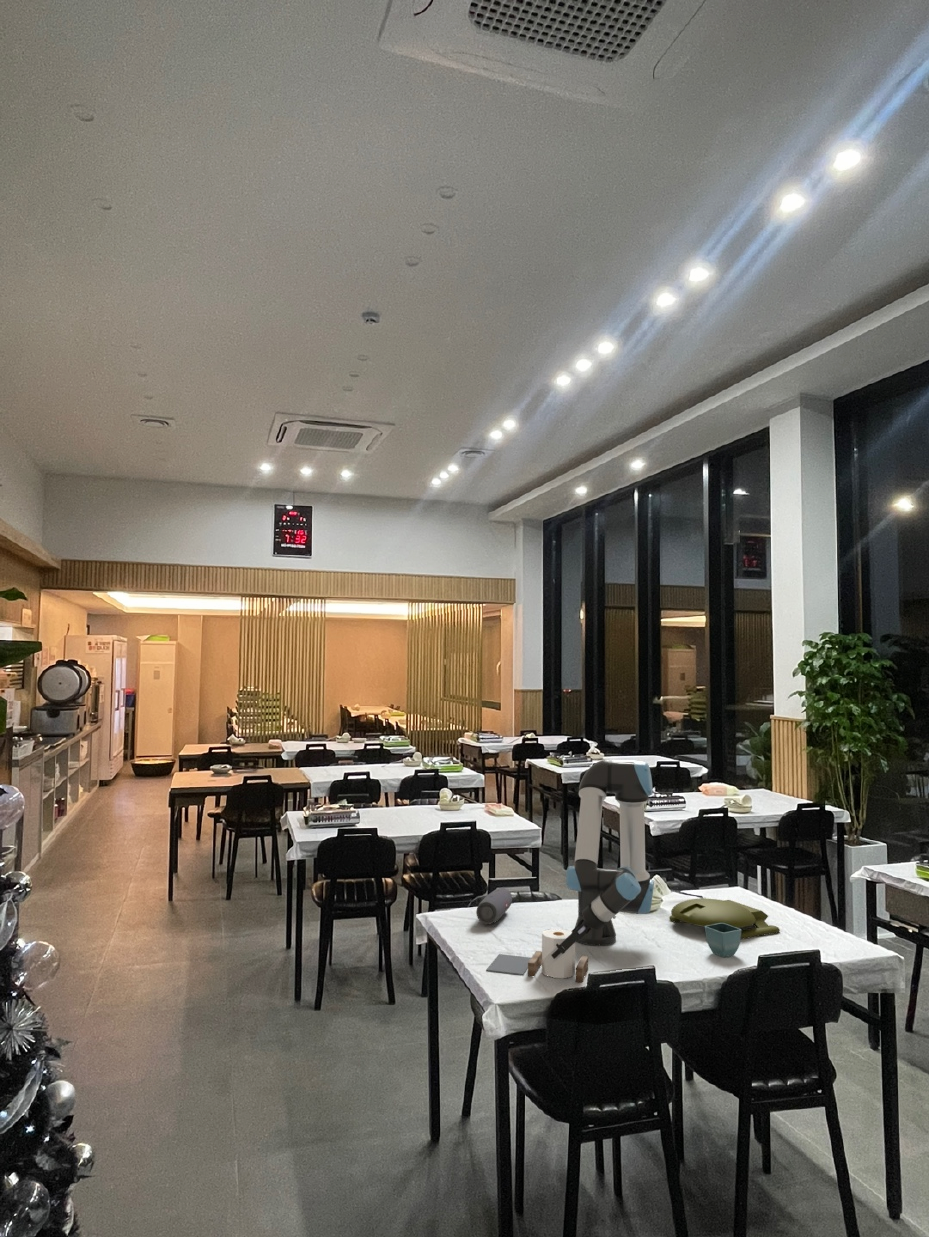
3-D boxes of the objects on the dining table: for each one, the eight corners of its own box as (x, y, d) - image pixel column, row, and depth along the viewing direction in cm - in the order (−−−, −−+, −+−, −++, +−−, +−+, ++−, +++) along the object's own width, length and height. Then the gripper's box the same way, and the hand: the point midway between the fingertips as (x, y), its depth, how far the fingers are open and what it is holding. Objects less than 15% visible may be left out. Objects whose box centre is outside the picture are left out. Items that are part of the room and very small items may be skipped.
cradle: (536, 963, 265) (536, 950, 265) (588, 969, 260) (588, 956, 260) (527, 975, 253) (527, 962, 254) (582, 982, 248) (582, 968, 249)
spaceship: (723, 912, 329) (723, 887, 330) (783, 933, 302) (782, 906, 302) (654, 922, 314) (654, 896, 315) (710, 945, 287) (710, 917, 287)
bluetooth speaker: (498, 928, 302) (498, 901, 303) (474, 926, 305) (475, 899, 306) (513, 912, 324) (514, 887, 325) (491, 910, 327) (491, 885, 328)
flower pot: (723, 960, 270) (723, 932, 271) (704, 952, 278) (703, 925, 279) (742, 956, 274) (742, 929, 275) (722, 948, 282) (722, 922, 283)
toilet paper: (569, 966, 262) (570, 928, 263) (578, 978, 252) (578, 938, 253) (539, 967, 261) (539, 928, 262) (546, 979, 251) (546, 938, 252)
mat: (499, 955, 273) (499, 953, 273) (534, 958, 269) (534, 957, 269) (486, 970, 257) (486, 969, 258) (523, 975, 254) (523, 973, 254)
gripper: (598, 933, 241) (549, 978, 245) (615, 912, 264) (570, 953, 268) (580, 913, 243) (532, 958, 247) (599, 894, 266) (554, 935, 270)
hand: (552, 956), depth 258 cm, fingers open, 13 cm apart
